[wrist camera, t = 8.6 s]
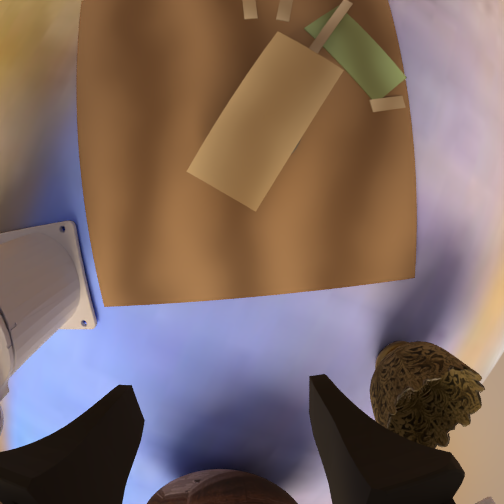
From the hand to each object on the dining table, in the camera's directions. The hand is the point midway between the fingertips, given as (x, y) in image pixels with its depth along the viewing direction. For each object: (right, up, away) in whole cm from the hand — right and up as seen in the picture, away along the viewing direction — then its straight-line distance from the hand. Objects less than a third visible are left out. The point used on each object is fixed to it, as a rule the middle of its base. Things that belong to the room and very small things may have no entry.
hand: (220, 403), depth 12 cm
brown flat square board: (+1, +14, +7) cm, 16 cm away
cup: (+12, -2, +11) cm, 17 cm away
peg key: (+4, +16, +5) cm, 17 cm away
